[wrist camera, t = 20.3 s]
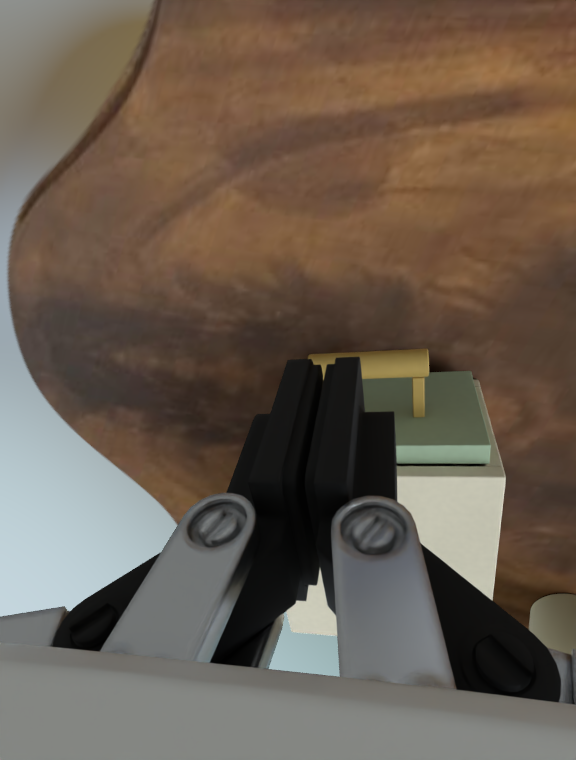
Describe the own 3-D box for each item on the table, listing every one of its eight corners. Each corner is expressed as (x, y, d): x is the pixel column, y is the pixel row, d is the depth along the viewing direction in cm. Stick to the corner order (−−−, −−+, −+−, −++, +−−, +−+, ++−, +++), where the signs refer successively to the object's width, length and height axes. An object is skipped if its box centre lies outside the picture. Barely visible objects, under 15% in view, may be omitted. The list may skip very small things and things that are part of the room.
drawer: (273, 323, 29) (246, 384, 23) (474, 310, 26) (497, 375, 21) (310, 522, 38) (297, 601, 32) (463, 526, 35) (476, 613, 30)
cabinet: (280, 385, 33) (250, 475, 26) (478, 379, 30) (506, 477, 23) (308, 532, 40) (291, 632, 33) (468, 538, 37) (487, 649, 30)
